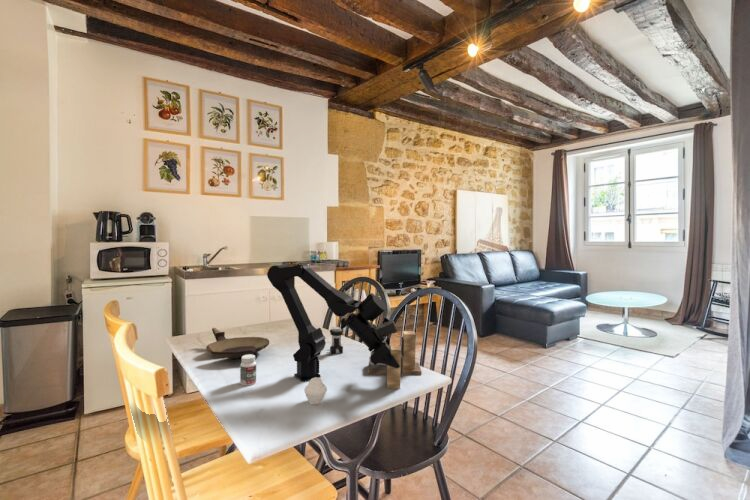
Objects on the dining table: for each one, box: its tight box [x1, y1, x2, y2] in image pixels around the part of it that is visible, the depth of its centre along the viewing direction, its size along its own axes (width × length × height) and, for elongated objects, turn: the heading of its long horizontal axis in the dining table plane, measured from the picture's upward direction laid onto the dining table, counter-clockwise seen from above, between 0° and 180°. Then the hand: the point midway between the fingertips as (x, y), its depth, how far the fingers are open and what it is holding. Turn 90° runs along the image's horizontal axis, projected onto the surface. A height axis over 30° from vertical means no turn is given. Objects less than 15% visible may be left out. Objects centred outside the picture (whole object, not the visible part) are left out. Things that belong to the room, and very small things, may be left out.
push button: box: [325, 326, 344, 355], centre depth 140 cm, size 7×5×10 cm
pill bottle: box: [239, 354, 257, 387], centre depth 111 cm, size 5×5×8 cm
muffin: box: [304, 377, 328, 406], centre depth 99 cm, size 6×6×7 cm
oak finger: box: [386, 345, 403, 389], centre depth 111 cm, size 5×4×12 cm
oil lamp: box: [206, 327, 270, 359], centre depth 138 cm, size 22×30×8 cm
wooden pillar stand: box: [367, 330, 422, 376], centre depth 124 cm, size 18×8×13 cm, turn 90°
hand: (398, 364), depth 111 cm, fingers closed on oak finger, 4 cm apart
